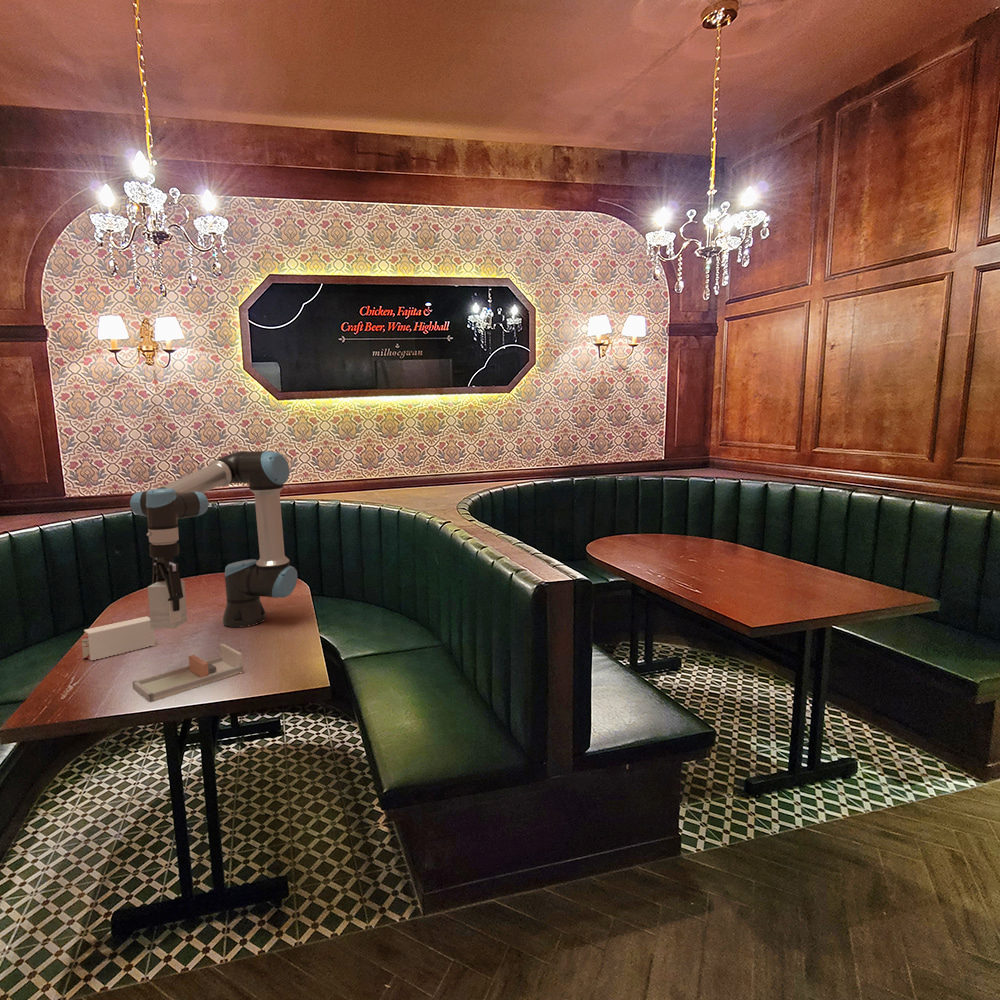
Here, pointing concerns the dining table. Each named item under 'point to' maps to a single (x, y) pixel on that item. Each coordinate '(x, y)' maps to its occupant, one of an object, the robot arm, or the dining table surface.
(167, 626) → the supplement box
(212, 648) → the dining table surface
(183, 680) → the beige shallow tray
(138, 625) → the cigarette display
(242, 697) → the dining table surface
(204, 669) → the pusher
